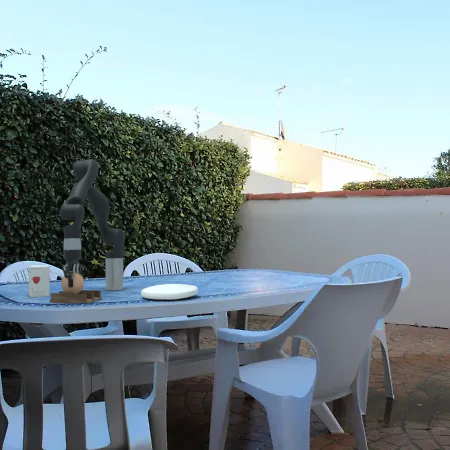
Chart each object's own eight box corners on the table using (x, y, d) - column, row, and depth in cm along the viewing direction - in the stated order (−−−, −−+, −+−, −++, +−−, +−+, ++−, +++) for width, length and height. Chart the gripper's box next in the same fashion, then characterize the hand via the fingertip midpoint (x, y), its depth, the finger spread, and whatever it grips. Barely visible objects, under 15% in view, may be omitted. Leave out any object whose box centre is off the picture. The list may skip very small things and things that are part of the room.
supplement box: (30, 297, 233) (30, 266, 233) (28, 295, 241) (28, 265, 241) (49, 296, 237) (49, 265, 237) (47, 294, 245) (47, 264, 245)
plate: (181, 292, 213) (129, 290, 223) (182, 307, 213) (130, 304, 223) (206, 279, 239) (159, 278, 249) (207, 292, 239) (160, 290, 249)
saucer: (64, 295, 220) (64, 271, 220) (84, 295, 217) (84, 272, 218) (60, 296, 217) (60, 272, 217) (81, 296, 214) (81, 272, 215)
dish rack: (66, 298, 229) (66, 289, 229) (101, 299, 225) (101, 290, 225) (49, 302, 215) (49, 293, 215) (86, 303, 211) (86, 294, 211)
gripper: (73, 248, 225) (73, 285, 225) (56, 249, 211) (56, 288, 211) (87, 248, 223) (87, 285, 223) (71, 249, 210) (71, 289, 209)
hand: (72, 286), depth 217 cm, fingers closed on saucer, 2 cm apart
